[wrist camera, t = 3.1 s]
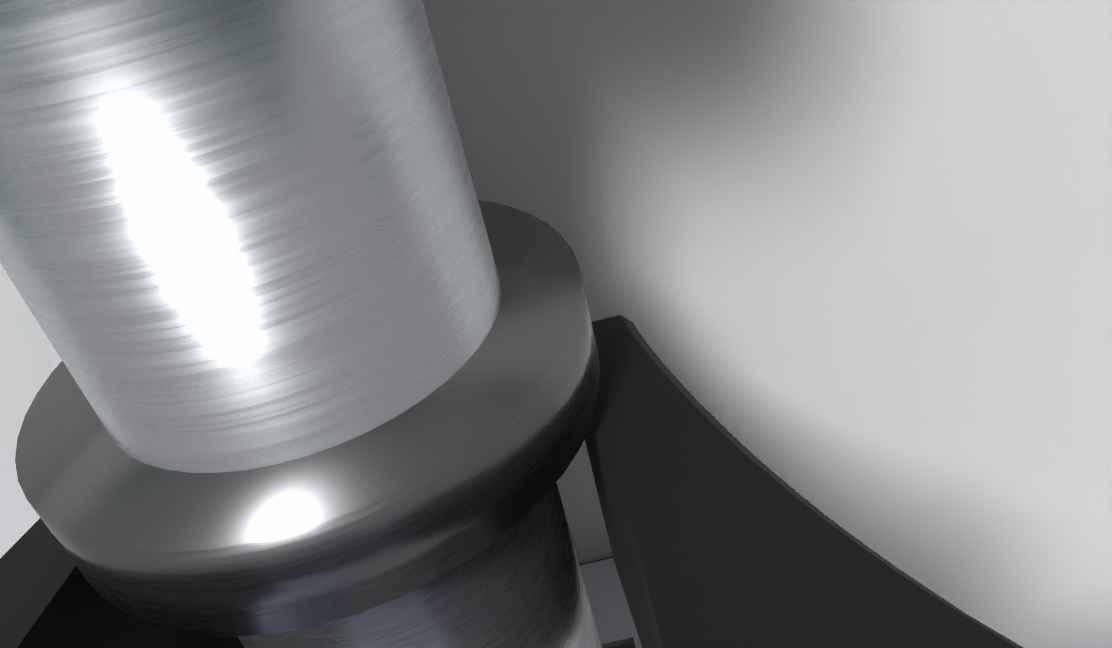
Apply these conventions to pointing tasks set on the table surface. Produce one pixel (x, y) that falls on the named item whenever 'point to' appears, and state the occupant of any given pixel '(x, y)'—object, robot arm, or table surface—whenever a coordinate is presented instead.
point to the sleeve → (609, 605)
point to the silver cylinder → (287, 330)
